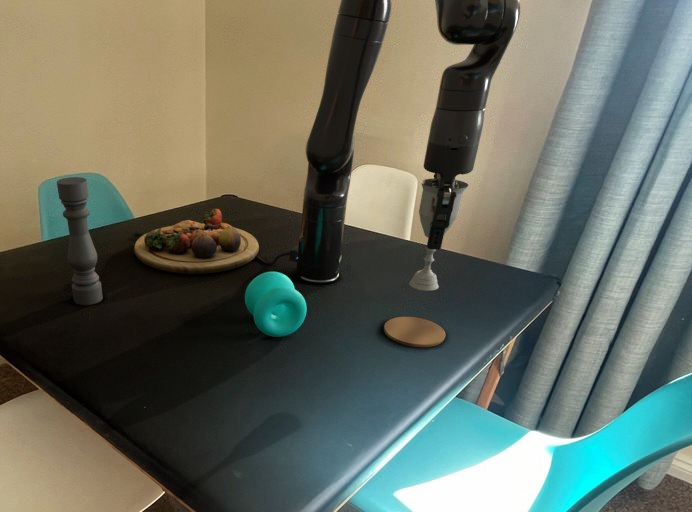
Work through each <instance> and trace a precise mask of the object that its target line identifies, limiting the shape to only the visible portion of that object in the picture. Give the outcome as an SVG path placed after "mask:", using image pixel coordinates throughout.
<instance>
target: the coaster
mask: <svg viewBox="0 0 692 512" xmlns="http://www.w3.org/2000/svg"><path fill="white" fill-rule="evenodd" d="M383 331H384V334H385V335H386V336H387V337H388V338H389V339H391V340H392V341H394V342H396V343H398V344H401V345H403V346H409V347H413V348H431V347H436V346H439V345H440V344H442V343H443V342H444V340H445V338H446V332H445V330H444V328H443V327H441V326H440V325H439V324H437V323H436V322H433V321H431V320H430V319H429V320H428V319H425V318H422V317H416V316H398V317H393V318H390V319H388V320H387V321H386V322H385V323H384V325H383Z"/></svg>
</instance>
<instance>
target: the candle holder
mask: <svg viewBox="0 0 692 512" xmlns="http://www.w3.org/2000/svg"><path fill="white" fill-rule="evenodd" d="M56 188H57V194H58V199H59V200H60V203H61V204H62V205H63V207H64V209H65V210H64V211H63V212H62V216H63V218H65V220H66V221H67V229H68V245H67V247H68V248H67V259H66V260H67V263H68V265H69V266H70V267H71V268H72V269H73V270H72V271H73V272H74V274H73V276H72V277H71V283H72V284H71V291H72V292H71V293H72V297H73V298H72V299H73V302H74V303H75V304H77V305H80V306H91V305H94V304H98V303H100V302H101V301H102V300H103V298H104V297H103V296H104V295H103V288H102V282H101V281H100V275H98V273H97V272H96V271H95V270H96V267H95V266H96V265H97V264H98V263H97V262H98V253H97V250H96V248H95V245H94V242H93V240H92V237H91V233H90V231H89V224H88V217H89V215H90V210H89V209H88V208H86V207H87V203H88V199H89V188H88V180H87V178H85V177H79V176H72V177H71V176H70V177H63V178H60V179H58V180H56Z"/></svg>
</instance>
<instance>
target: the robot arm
mask: <svg viewBox="0 0 692 512" xmlns="http://www.w3.org/2000/svg"><path fill="white" fill-rule="evenodd" d="M434 3H435V12H436V24H437V31H438V33H439V34H440V37H442V39H443V40H444V41H445V42H447V43H448V44H449V45H454V46H469V45H471V46H472V45H473V46H472V48H471V50H470V52H469V53H468V54H467V56H466V58H465V59H463V60H462V61H460V62H457V63H454V64H451V65H448V66H447V67H445V69H444V70H443V72H442V74H441V78H440V82H439V88H438V94H437V98H436V104H435V109H434V114H433V116H432V119H431V122H430V128H429V133H428V138H427V144H426V150H425V155H424V160H423V169H424V170H425V171H427V172H428V173H432V174H433V179H434V178H437V179H436V180H432V181H431V185H430V187H434V188H438V192H437V202H436V207H435V198H434V197H433V196H432V201H431V206H430V212H431V213H432V219H431V222H430V225H431V226H430V232H429V237H427V243H426V248H428V249H433V250H436V251H438V250H441V249H442V245H443V240H444V237H445V235H444V231H445V228H448V226H449V224H450V223H449V221H450V217H451V213H452V211H453V206H454V201H455V198H456V192H453V190H454V189H458V185H457V181H455V180H456V177H457V176H459V175H461V176H462V175H468V174H470V173H472V172H473V170H474V167H475V163H476V159H477V154H478V150H479V146H480V141H481V138H482V137H481V136H482V133H483V127H484V122H485V121H484V120H485V112H486V107H487V103H488V98H489V93H490V89H491V84H492V80H493V78H494V75H495V74H496V72H497V69H498V67H499V66H500V64H501V61H502V60H503V58H504V54H505V53H506V51H507V48H508V47H509V45H510V43H511V40H512V39H513V37H514V34H515V32H516V30H517V27H518V24H519V20H520V15H521V0H434ZM391 14H392V0H340V3H339V8H338V11H337V15H336V19H335V24H334V28H333V33H332V37H331V42H330V46H329V51H328V57H327V63H326V68H325V75H324V76H325V78H324V84H323V90H322V94H321V98H320V103H319V105H318V106H319V107H318V109H317V111H316V115H315V117H314V121H313V124H312V127H311V130H310V133H309V135H308V138H307V140H306V144H305V156H306V160H307V162H308V163H307V174H306V180H305V184H304V189H303V199H302V212H301V225H300V228H301V229H300V236H299V238H298V244H296V245H295V246H294V247H292V248H290V249H289V251H287V252H286V251H285V252H282V253H279V254H278V255H277V256H275V257H274V258H273V260H272V261H266V260H264V259H263V258H261V257H260V256H258V254H257V255H256V256H255V257H254V259H256V260H258V261H259V262H261V263H263V264H265V265H268V266H272V265H274V264H276V263H277V261H278V260H279V259H280V258H282V257H285V256H289V259H288V261H290V262H294V263H296V271H295V279H296V280H301V281H303V282H305V283H309V284H314V285H325V284H332V283H334V282H336V281H338V279H339V272H340V262H341V260H342V254H341V253H342V248H343V247H342V246H343V238H344V229H345V221H346V212H347V205H348V195H349V190H350V185H351V176H352V169H353V163H354V155H355V146H356V145H355V143H356V142H355V135H354V134H355V128H356V122H357V118H358V113H359V108H360V104H361V101H362V98H363V96H364V93H365V91H366V88H367V86H368V84H369V82H370V79H371V77H372V74H373V72H374V69H375V68H376V64H377V62H378V59H379V56H380V53H381V50H382V47H383V44H384V41H385V36H386V33H387V29H388V26H389V22H390V19H391ZM439 214H445V218H444V220H438V219H437V216H438V215H439ZM134 234H135V235H137V236H139V237H142V236H143V235H145V233H141V232H138V231H135V233H134Z"/></svg>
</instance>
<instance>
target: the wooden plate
mask: <svg viewBox="0 0 692 512" xmlns="http://www.w3.org/2000/svg"><path fill="white" fill-rule="evenodd" d="M201 222H203V223H201ZM201 222H199V221H193V220H190V219H187V220H182V221H179V222H178V223H175V224H174V225H169V226H163V227H161V228H156V229H153V230H151V231H148V232H147V233H144V235H143V236H139V238H138V239H137V240H136V241H135V243H134V247H133V252H134V255H135V256H136V258H137V259H138V260H139V261H140V262H141V263H142V264H144V265H145V266H146V265H147V266H148V267H151V268H153V269H156V270H160V271H163V272H168V273H173V274H185V275H204V274H205V275H207V274H213V273H214V274H215V273H216V274H217V273H222V272H225V271H230V270H233V269H237V268H240V267H243V266H244V265H246V264H248V263H250V262H251V261H252V260H254V259H255V256H256V255H257V256H258V253H259V251H260V245H259V242H258V240H257V238H256V237H254V235H253V234H251V233H249V232H247V231H245V230H243V229H240V228H237V227H234V226H232V225H231V224H229V223H226V222H223V214H222V212H221V210H220V209H219V208H213V209H210V212H208V211H205V213H204V216H203V217H202V220H201Z"/></svg>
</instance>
